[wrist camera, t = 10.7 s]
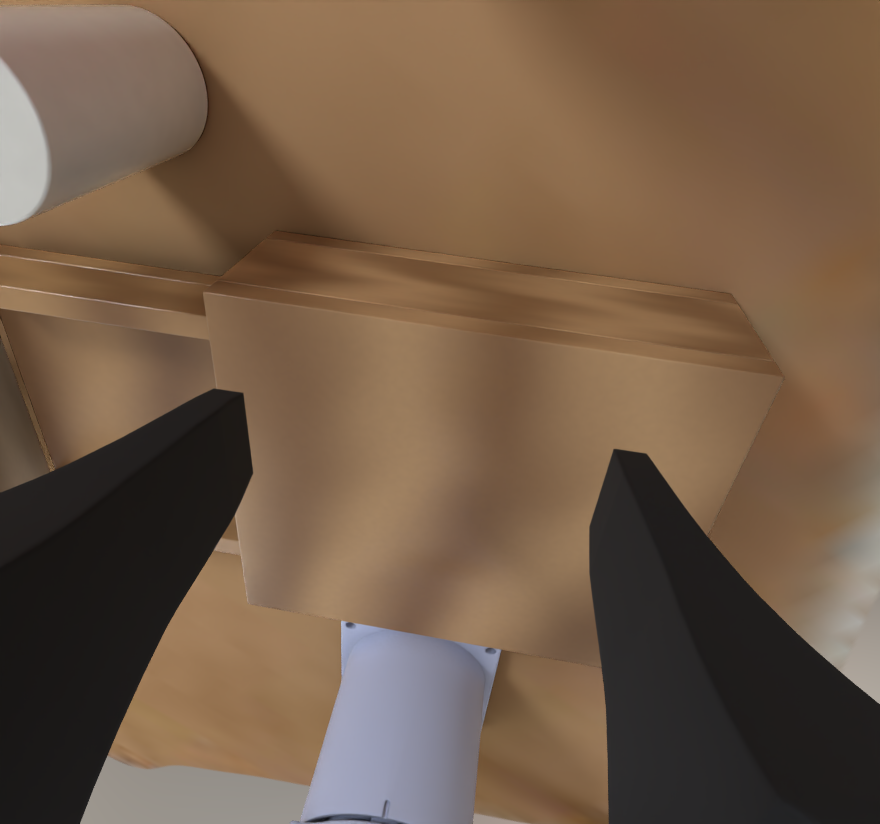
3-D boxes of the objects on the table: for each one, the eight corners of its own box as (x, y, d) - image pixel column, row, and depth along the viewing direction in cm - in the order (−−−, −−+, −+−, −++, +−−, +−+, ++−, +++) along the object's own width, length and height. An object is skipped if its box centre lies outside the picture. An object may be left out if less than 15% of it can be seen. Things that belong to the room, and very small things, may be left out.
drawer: (-69, 454, 27) (-138, 505, 24) (-202, 191, 20) (-317, 220, 18) (325, 521, 26) (300, 582, 23) (319, 265, 19) (282, 308, 16)
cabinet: (293, 510, 27) (247, 604, 23) (274, 229, 20) (201, 291, 15) (624, 566, 26) (639, 675, 22) (732, 293, 19) (786, 377, 14)
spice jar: (216, 166, 19) (72, 239, 13) (94, 150, 19) (-101, 214, 13) (199, 12, 16) (14, 18, 11) (60, -4, 17) (-193, -7, 11)
